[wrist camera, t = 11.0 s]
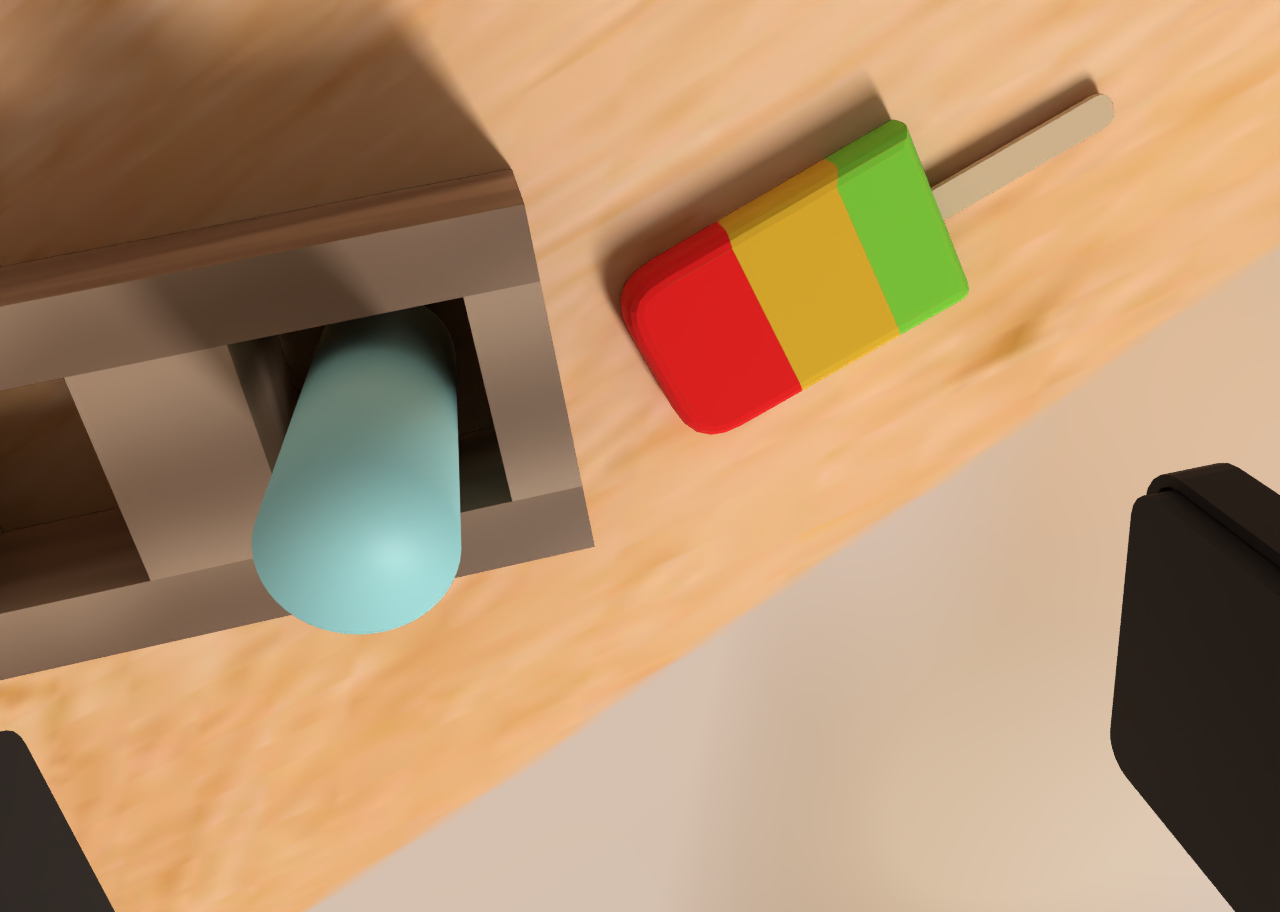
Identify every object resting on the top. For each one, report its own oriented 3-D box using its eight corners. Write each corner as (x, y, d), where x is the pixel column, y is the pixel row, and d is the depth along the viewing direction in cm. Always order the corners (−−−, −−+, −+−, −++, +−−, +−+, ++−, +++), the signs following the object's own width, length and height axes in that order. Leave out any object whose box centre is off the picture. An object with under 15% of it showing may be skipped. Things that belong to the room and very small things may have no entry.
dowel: (299, 309, 28) (222, 480, 19) (438, 281, 29) (434, 435, 19) (339, 434, 30) (287, 653, 20) (469, 407, 30) (481, 609, 21)
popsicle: (600, 282, 30) (610, 301, 28) (1064, 10, 29) (1104, 12, 27) (685, 431, 33) (700, 456, 31) (1116, 184, 32) (1155, 196, 30)
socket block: (-190, 303, 26) (-320, 369, 22) (511, 168, 28) (524, 204, 23) (-36, 599, 30) (-120, 707, 26) (573, 466, 32) (594, 546, 27)
